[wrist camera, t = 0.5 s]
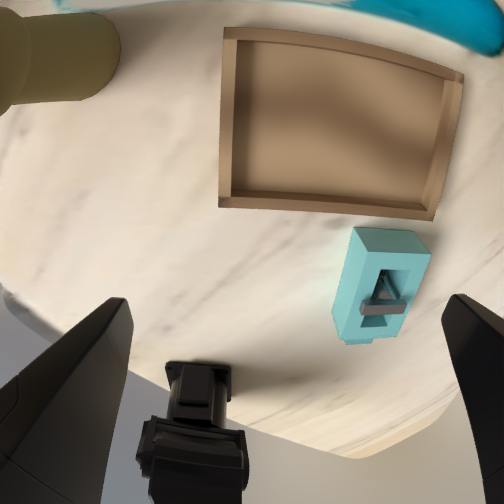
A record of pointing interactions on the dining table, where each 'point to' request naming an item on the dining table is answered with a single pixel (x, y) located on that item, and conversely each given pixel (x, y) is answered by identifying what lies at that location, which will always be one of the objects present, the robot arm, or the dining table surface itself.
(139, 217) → the dining table surface
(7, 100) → the cork
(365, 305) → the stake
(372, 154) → the tray
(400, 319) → the teal hollow block
